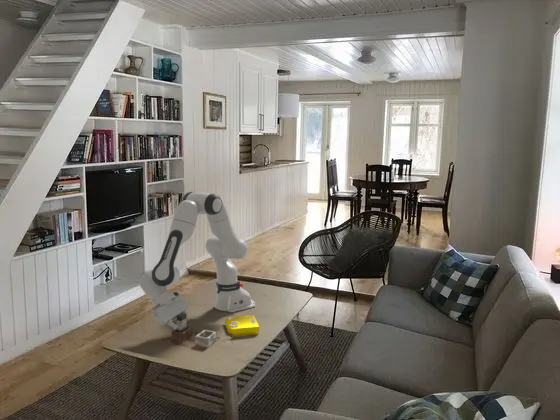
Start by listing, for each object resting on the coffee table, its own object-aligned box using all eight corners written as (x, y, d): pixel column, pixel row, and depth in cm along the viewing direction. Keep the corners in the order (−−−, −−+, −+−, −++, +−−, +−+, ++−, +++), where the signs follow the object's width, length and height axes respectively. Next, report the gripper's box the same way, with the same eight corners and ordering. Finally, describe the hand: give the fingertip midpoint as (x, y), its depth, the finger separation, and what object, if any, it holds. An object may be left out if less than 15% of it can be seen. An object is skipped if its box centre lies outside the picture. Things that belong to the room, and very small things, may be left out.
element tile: (259, 334, 225) (259, 325, 224) (228, 338, 221) (228, 328, 220) (253, 322, 239) (253, 313, 238) (224, 325, 235) (224, 316, 234)
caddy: (184, 333, 225) (184, 322, 224) (220, 340, 218) (220, 329, 217) (166, 345, 212) (166, 334, 211) (204, 353, 205) (204, 341, 204)
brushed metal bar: (182, 335, 219) (181, 313, 218) (186, 336, 218) (186, 313, 217) (177, 338, 216) (176, 316, 214) (181, 339, 215) (181, 317, 213)
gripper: (153, 304, 207) (173, 329, 205) (180, 290, 226) (198, 312, 224) (146, 312, 210) (165, 337, 208) (172, 298, 228) (190, 320, 226)
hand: (182, 324), depth 216 cm, fingers open, 8 cm apart
